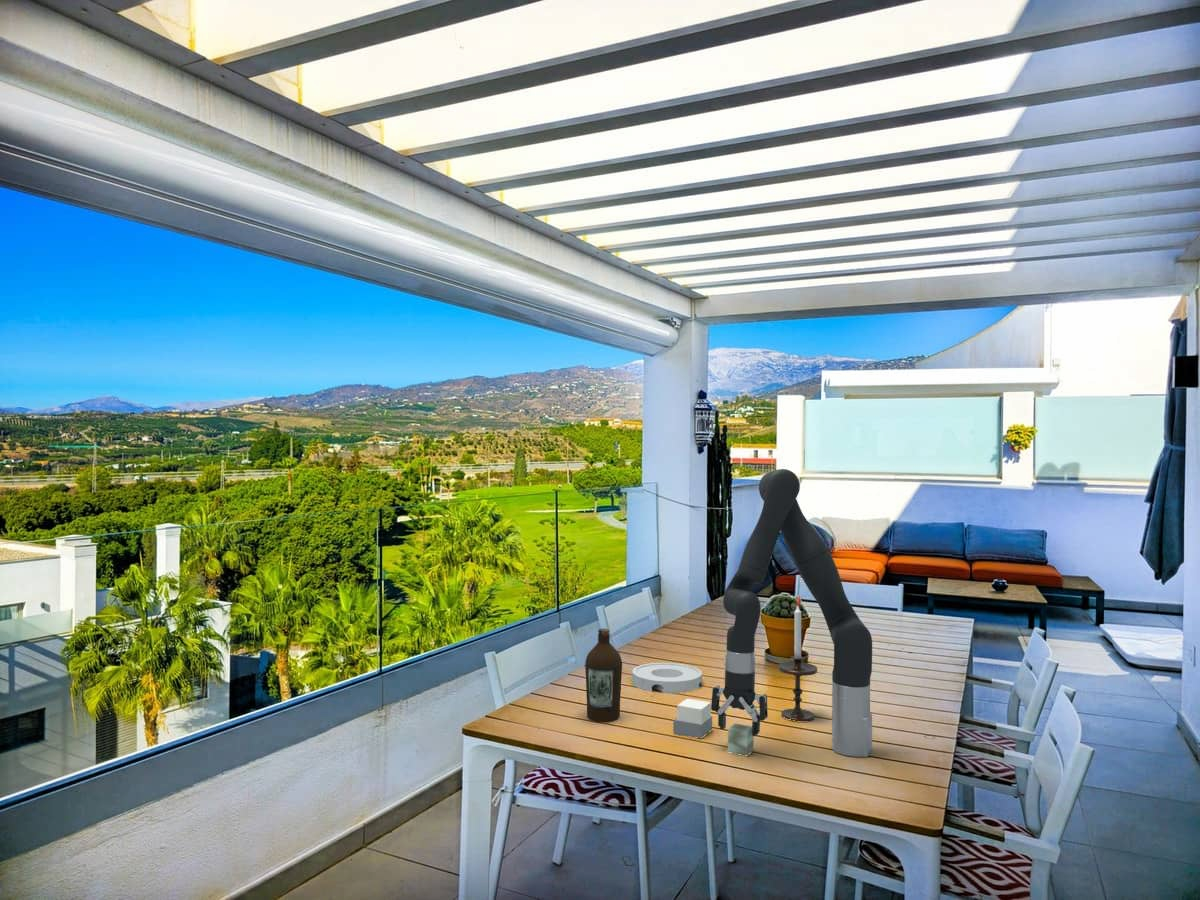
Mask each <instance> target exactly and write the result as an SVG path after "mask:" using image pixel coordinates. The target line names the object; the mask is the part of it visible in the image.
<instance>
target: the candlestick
mask: <svg viewBox="0 0 1200 900" xmlns="http://www.w3.org/2000/svg"><path fill="white" fill-rule="evenodd" d="M800 603H801V594H799V596H798V597H797V601H796V609H795V610H794V631H793V632H794V638H793V639H794V644H793V645H794V646H793V647H794V652H793V653H794V655H792V656H790V658H791V659H793V661H786V662H785V661H784V662H780V663H779V664H778V666H777V667H778V671H779V672H781V673H784V674H786V675H792V676H794V677H795V678H794V679H795V683H794V684H795V685H794V686H795V687H794V688H793V689H792V692H793V694H794V697H793V701H794V702H795V703H794V704H795V705H794V708H788V709H784V710H782V711H781V717H782V716H783V717H785V718H787V719H791V720H795V721H809V722H812V721H814V719H815V715H814V713H813V712H812V711H808V710H806V709H802V708H801V702H802V701H803V698H801V695H802V694H803V689H802V688H801V677H803V676H812V675H816V674H817V673H818V667H817V665H814V664H811V663H809V662H802V660H805V659H806V658H805V657H804V656H802V610H800V606H799V605H800ZM783 717H782V718H783ZM811 720H812V721H811Z"/></svg>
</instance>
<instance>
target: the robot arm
mask: <svg viewBox="0 0 1200 900" xmlns="http://www.w3.org/2000/svg"><path fill="white" fill-rule="evenodd" d="M800 489H801V482H800V479H799V478H798V476H797V475H796V474H795V473H794V472H793V471H791V470H790V469H786V468H779V469H775V470H771V471H769V472H767V473H765V474H764V475H763V476H761V478H760V480H759V484H758V492H759V495H760V498H761V499H762V501H763V504H762V509H761V513H760V516H759V517H758V520H757V523H756V524H755V527H754V529H753V531H752V532H751V535H750V537H749V538H748V539H747V543H746V545H745V548H744V550H743V553H742V555H741V559H740V563H739V565H738V568H737V571H736V572H735V574H734V575H733V577H732V579H731V580H730V582H729V583H728V585H727V587H726V589H725V591H724V594H723V598H722V602H723V603H722V605H723V608H724V609H725V611H726V612H727V613H728V614H729V615H732V616H734V617H735V618H734V625H733V626H730V627H729V628H728V629H727V632H726V651H725V661H724V688H723V687H721V686H720V685H716V686H714V687H713V688H712V693H711V712H715V713H717V716H718V719H717V724H718V725H717V726H718V727H719V728H720V729H719V730H725V729H726V727H727V713H726V711H727V710H728V709H729V708H730V707H731V708H732V709H739V710H741V711H745V712H746V713H747V714H748V715H749V716H750V718H751V719H752V723H751V724H752V725H751V726H752V736H754V737H756V736H758V735H759V734H760V731H761V722H762V721H765V720H766V719H767V718H768V716H769V715H768V696H767V694H765V693H764V694H756V692H755V686H756V685H755V683H756V681H755V680H756V656H755V642H756V641H755V634H756V631H757V629H758V625H759V620H760V617H761V610H762V609H761V602H760V599H759V597H758V596H757V595H756V593H754V592H752V591H753V588H754V587H755V585H758V584H762V583H763V582H764V580H765V578H766V574H767V572H768V568H769V565H770V562H771V560H772V556H773V554H774V550H775V547H776V544H777V541H778V538H779V535H780V534H782V537H783V539H784V542H785V545H786V547H787V549H788V550H789V553H790V555H791V558H792V560H793V562H794V564H795V566H796V569H797V571H798V573H799V575H800V576H801V578H802V581H803V583H804V584H805V586H806V587H807V589H808V591H809V593H811V595H812V596H813V598H814V600H815V601H816V603H817V604H818V606H819V608H820V610H821V613H822V614H823V617H824V620H825V622H826V623H825V624H826V626H827V628H828V631H829V634H830V638H831V641H832V643H833V669H832V672H831V674H832V675H831V677H832V678H831V680H832V681H831V682H832V683H831V685H832V686H831V687H832V689H831V694H832V697H831V700H832V701H831V705H832V707H831V709H832V710H831V712H832V713H831V717H832V718H831V719H832V721H831V722H832V723H831V728H832V729H831V731H832V732H831V733H832V734H831V736H832V737H831V748H832V750H833V751H834V752H835V753H837V754H840V755H843V756H848V757H854V758H855V757H857V758H858V757H860V758H861V757H864V758H868V757H869V756H870V754H871V752H872V750H873V713H872V712H871V676H872V672H873V671H872V670H873V639H872V635H871V632H870V630H869V629H868V628H867V626H866V625H865V624H864V623H863V622H862V620H861V619H860V618H859V616H858V614H857V612H856V611H855V610H854V608H853V606H852V604H851V603H850V601H849V599H848V597H847V595H846V593H845V589H844V586H843V583H842V580H841V576H840V573H839V570H838V568H837V566H836V563H835V560H834V559H833V556H832V554H831V552H830V550H829V548H828V547H827V545H826V543H825V541H824V539H823V538H822V537H821V535H820V534H819V533H818V531H817V530H816V529H815V528H814V527H813V526H812V524H811V522H809V521H808V519H807V518H806V517H805V515H804V514H803V510H802V509H801V507H800V505H799V501H798V500H797V497H798V495H799V493H800ZM780 532H781V533H780ZM722 695H723V696H724V698H725V701H724V702H723V704H722V705H721V706H720V698H721V696H722ZM755 700H756V702H757V704H758V705H759V706H758V707H759V711H758V710H757V709H758V708H757V706H756V705H755V703H754V702H755Z"/></svg>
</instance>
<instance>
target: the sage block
mask: <svg viewBox="0 0 1200 900" xmlns="http://www.w3.org/2000/svg"><path fill="white" fill-rule="evenodd" d="M754 737H755V736H752V725H745V724H740V723H733V724H732V725H730V727H729V728H728V729H727V753H728V752H732V753H736V754H741V755H748V754H749V753H750V752H751V751H752V750H753V751H754V744H755V743H754ZM753 751H752V752H753ZM752 752H751V753H752ZM751 753H750V754H751ZM736 754H735V755H736ZM750 754H749V755H750ZM741 755H740V756H741ZM749 755H748V756H749Z"/></svg>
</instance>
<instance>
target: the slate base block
mask: <svg viewBox="0 0 1200 900" xmlns="http://www.w3.org/2000/svg"><path fill="white" fill-rule="evenodd" d="M672 724H673V727H672V728H673V730H672V733H674V734H673V735H677V734H679V736H683V735H686V736H685V737H688V736H691V737H690V738H693V737H698V738H701V737H703V736H704V735H705V734H707V733H708V732H709V731H710V730H712V731H713V716H712V715H711V717H710V718H709V719H708V720H707V721H705V722H704V723H703V724H702V725H701V724H695V723H690V722H684V721H678V720H677V717H676V718H674V719H673V723H672ZM709 733H710V732H709ZM709 733H708V734H709ZM708 734H707V735H708ZM704 737H705V736H704ZM704 737H703V738H704ZM698 738H697V739H698Z"/></svg>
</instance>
